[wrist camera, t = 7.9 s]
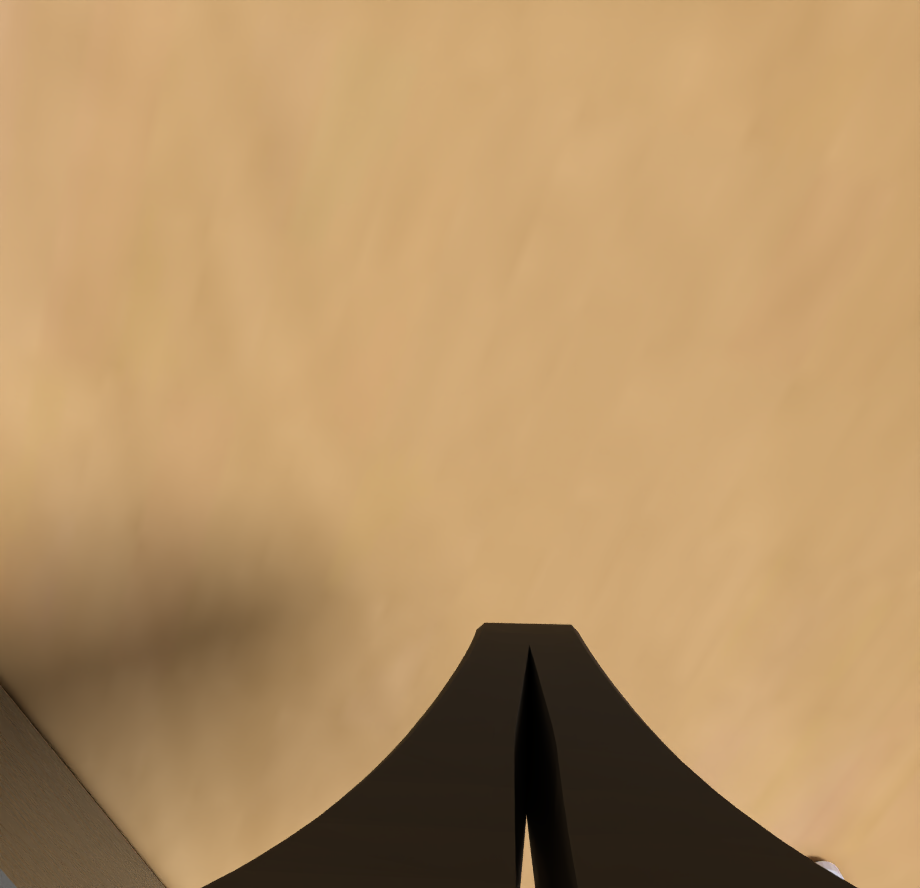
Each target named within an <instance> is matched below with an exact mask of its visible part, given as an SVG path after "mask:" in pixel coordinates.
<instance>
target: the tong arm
mask: <svg viewBox="0 0 920 888" xmlns="http://www.w3.org/2000/svg"><path fill="white" fill-rule="evenodd" d="M0 888H165V887H164V886H163V884H162V883H161V882H160V881H159V880H158V878H157V877H156V876H155V875H154V873H153V872H152V871H151V870H150V868H149V867H148V866H147V865H146V864H145V862H144V861H143V860H142V859H141V857H140V856H139V855H138V854H137V852H136V851H135V850H134V849H133V848H132V846H131V845H130V844H129V843H128V841H127V840H126V839H125V838H124V836H123V835H122V834H121V833H120V832H119V830H118V829H117V828H116V827H115V825H114V824H113V823H112V822H111V820H110V819H109V818H108V817H107V816H106V814H105V813H104V812H103V811H102V809H101V808H100V807H99V806H98V804H97V803H96V802H95V801H94V800H93V798H92V797H91V796H90V795H89V793H88V792H87V791H86V790H85V788H84V787H83V786H82V785H81V784H80V782H79V781H78V780H77V779H76V777H75V776H74V775H73V774H72V772H71V771H70V770H69V769H68V768H67V766H66V765H65V764H64V763H63V761H62V760H61V759H60V758H59V756H58V755H57V754H56V753H55V752H54V750H53V749H52V748H51V747H50V745H49V744H48V743H47V742H46V740H45V739H44V738H43V737H42V735H41V734H40V733H39V732H38V731H37V729H36V728H35V727H34V726H33V724H32V723H31V722H30V721H29V719H28V718H27V717H26V716H25V715H24V713H23V712H22V711H21V710H20V708H19V707H18V706H17V705H16V703H15V702H14V701H13V700H12V699H11V697H10V696H9V695H8V694H7V692H6V691H5V690H4V689H3V687H2V686H1V685H0Z"/></svg>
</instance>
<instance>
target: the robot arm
mask: <svg viewBox="0 0 920 888" xmlns="http://www.w3.org/2000/svg"><path fill="white" fill-rule="evenodd" d="M526 814H527V823H528V831H529V840H530V848H531V856H532V865H533V873H534V881H535V888H857V887H855V886H853V885H852V884H850V883H848V882H847V881H845V880H844V878H843V876H842V875H841V873H840V871H839V869H838V868H837V867H836V866H835V864H833V863H830V862H827V861H818V862H813V861H812V860H810V859H809V858H807V857H806V856H804V855H803V854H801V853H800V852H798V851H797V850H795V849H794V848H792V847H791V846H789V845H788V844H786V843H784V842H783V841H781V840H780V839H779V838H777V837H776V836H774V835H773V834H772V833H770V832H769V831H767V830H766V829H765V828H763V827H762V826H761V825H759V824H758V823H757V822H755V821H754V820H752V819H751V818H750V817H748V816H747V815H746V814H744V813H743V812H741V811H740V810H739V809H737V808H736V807H735V806H734V805H732V804H731V803H730V802H728V801H727V800H726V799H725V798H723V797H722V796H721V795H720V794H718V793H717V792H716V791H715V790H714V789H712V788H711V787H710V786H709V785H708V784H707V783H706V782H704V781H703V780H702V779H701V778H700V777H699V776H698V775H697V774H695V773H694V772H693V771H692V770H691V769H690V768H689V767H687V766H686V765H685V764H684V763H683V762H682V761H681V760H680V759H679V758H678V757H677V756H676V755H675V754H674V753H673V752H672V751H671V750H670V749H669V748H668V747H667V746H666V745H665V744H664V743H663V742H662V741H661V740H660V739H659V738H658V736H657V735H656V734H655V733H654V732H653V731H652V730H651V729H650V728H649V727H648V726H647V725H646V723H645V722H644V721H643V720H642V719H641V718H640V716H639V715H638V714H637V713H636V712H635V711H634V709H633V708H632V707H631V706H630V704H629V703H628V702H627V701H626V699H625V698H624V697H623V696H622V694H621V693H620V692H619V691H618V690H617V688H616V687H615V686H614V684H613V683H612V682H611V680H610V679H609V678H608V676H607V675H606V674H605V672H604V671H603V670H602V668H601V667H600V665H599V664H598V662H597V661H596V660H595V658H594V657H593V655H592V654H591V652H590V651H589V649H588V647H587V646H586V644H585V643H584V641H583V639H582V638H581V636H580V634H579V633H578V631H577V630H576V629H575V628H574V627H573V626H572V625H559V624H515V623H484V624H483V625H482V626H481V627H479V628H478V629H477V630H476V633H475V636H474V638H473V640H472V642H471V645H470V646H469V648H468V650H467V652H466V654H465V656H464V657H463V659H462V661H461V662H460V664H459V666H458V667H457V669H456V671H455V672H454V673H453V675H452V676H451V678H450V679H449V681H448V682H447V684H446V685H445V687H444V688H443V690H442V691H441V692H440V694H439V695H438V697H437V698H436V700H435V701H434V702H433V704H432V705H431V706H430V707H429V709H428V710H427V711H426V712H425V713H424V715H423V716H422V717H421V718H420V720H419V721H418V722H417V723H416V724H415V726H414V727H413V728H412V729H411V731H410V732H409V733H408V734H407V735H406V737H405V738H404V739H403V740H402V741H401V742H400V743H399V744H398V745H397V746H396V748H395V749H394V750H393V751H392V752H391V753H390V754H389V755H388V756H387V757H386V758H385V759H384V760H383V761H382V762H381V763H380V764H379V765H378V766H377V767H376V768H375V769H374V770H373V771H372V772H371V773H370V774H369V775H368V776H367V777H365V778H364V779H363V780H362V781H361V782H360V783H359V784H358V785H356V786H355V787H354V788H353V789H352V790H351V791H349V792H348V793H347V794H346V795H345V796H344V797H342V798H341V799H340V800H339V801H338V802H336V803H335V804H334V805H333V806H331V807H330V808H329V809H328V810H326V811H325V812H324V813H323V814H321V815H320V816H319V817H318V818H316V819H315V820H313V821H312V822H311V823H309V824H308V825H306V826H305V827H303V828H302V829H300V830H299V831H297V832H296V833H295V834H293V835H292V836H290V837H289V838H287V839H286V840H284V841H283V842H281V843H279V844H278V845H276V846H275V847H273V848H271V849H270V850H268V851H267V852H265V853H263V854H262V855H260V856H259V857H257V858H255V859H254V860H252V861H250V862H249V863H247V864H245V865H243V866H242V867H240V868H238V869H236V870H235V871H233V872H231V873H229V874H227V875H225V876H223V877H221V878H219V879H217V880H216V881H214V882H212V883H210V884H208V885H206V886H204V887H202V888H520V883H521V872H522V861H523V849H524V837H525V826H526Z"/></svg>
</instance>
